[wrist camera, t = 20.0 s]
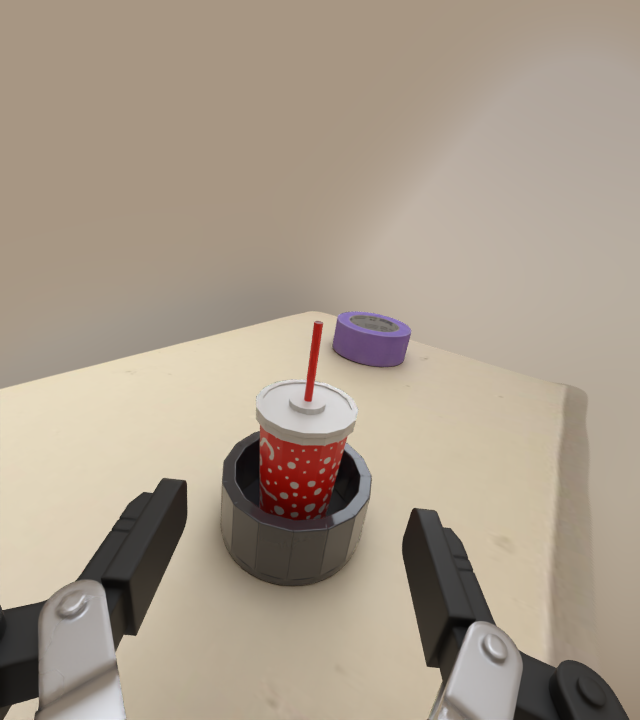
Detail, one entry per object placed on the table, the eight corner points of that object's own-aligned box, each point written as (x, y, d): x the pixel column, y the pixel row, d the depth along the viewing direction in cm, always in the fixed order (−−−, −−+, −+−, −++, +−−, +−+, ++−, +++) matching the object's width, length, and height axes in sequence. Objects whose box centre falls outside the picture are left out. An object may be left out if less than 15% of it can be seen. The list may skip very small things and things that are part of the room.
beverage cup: (256, 477, 27) (270, 301, 21) (335, 486, 27) (368, 314, 22) (237, 547, 21) (250, 333, 16) (336, 559, 22) (382, 351, 16)
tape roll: (418, 358, 57) (425, 329, 55) (373, 373, 49) (380, 340, 47) (363, 335, 65) (368, 308, 63) (317, 344, 57) (322, 315, 55)
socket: (351, 606, 20) (365, 551, 18) (193, 560, 21) (192, 504, 19) (364, 487, 28) (374, 442, 27) (252, 460, 30) (255, 415, 28)
